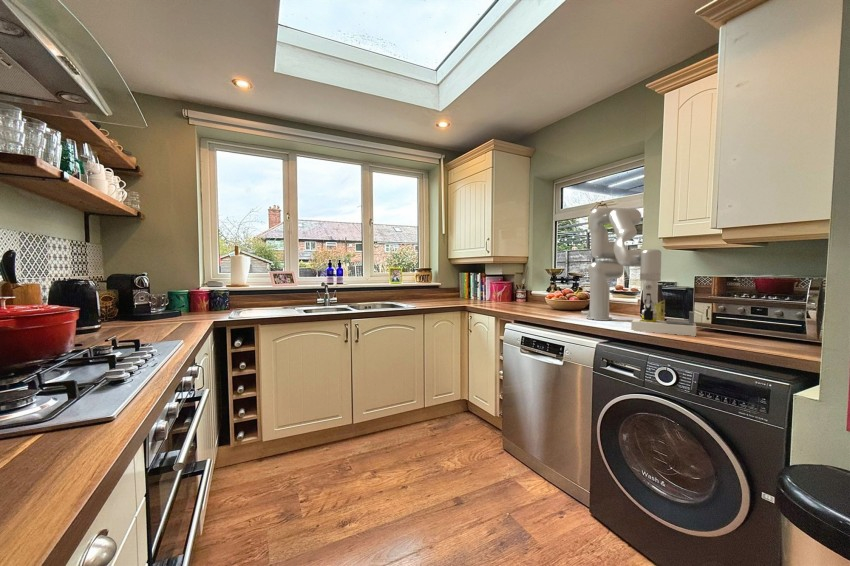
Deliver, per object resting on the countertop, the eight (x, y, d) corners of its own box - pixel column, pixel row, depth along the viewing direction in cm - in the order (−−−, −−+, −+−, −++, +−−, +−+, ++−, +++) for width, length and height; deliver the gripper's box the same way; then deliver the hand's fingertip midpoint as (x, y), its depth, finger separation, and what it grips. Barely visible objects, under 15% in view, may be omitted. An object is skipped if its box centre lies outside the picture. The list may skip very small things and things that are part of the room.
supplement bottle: (638, 326, 151) (639, 304, 150) (646, 326, 153) (647, 304, 153) (650, 328, 146) (651, 305, 145) (659, 327, 148) (659, 305, 148)
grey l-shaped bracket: (665, 322, 142) (666, 311, 142) (667, 320, 148) (667, 309, 148) (693, 324, 137) (693, 313, 136) (693, 322, 143) (693, 311, 143)
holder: (631, 330, 148) (631, 321, 148) (634, 327, 158) (635, 318, 157) (695, 336, 135) (696, 326, 134) (695, 332, 144) (695, 323, 144)
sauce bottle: (664, 324, 167) (665, 284, 166) (648, 323, 171) (649, 283, 170) (664, 323, 172) (665, 284, 172) (649, 322, 176) (650, 283, 175)
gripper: (659, 278, 140) (657, 322, 140) (661, 277, 153) (660, 318, 154) (637, 277, 144) (636, 320, 145) (642, 277, 158) (641, 316, 158)
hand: (649, 318), depth 149 cm, fingers closed on supplement bottle, 5 cm apart
